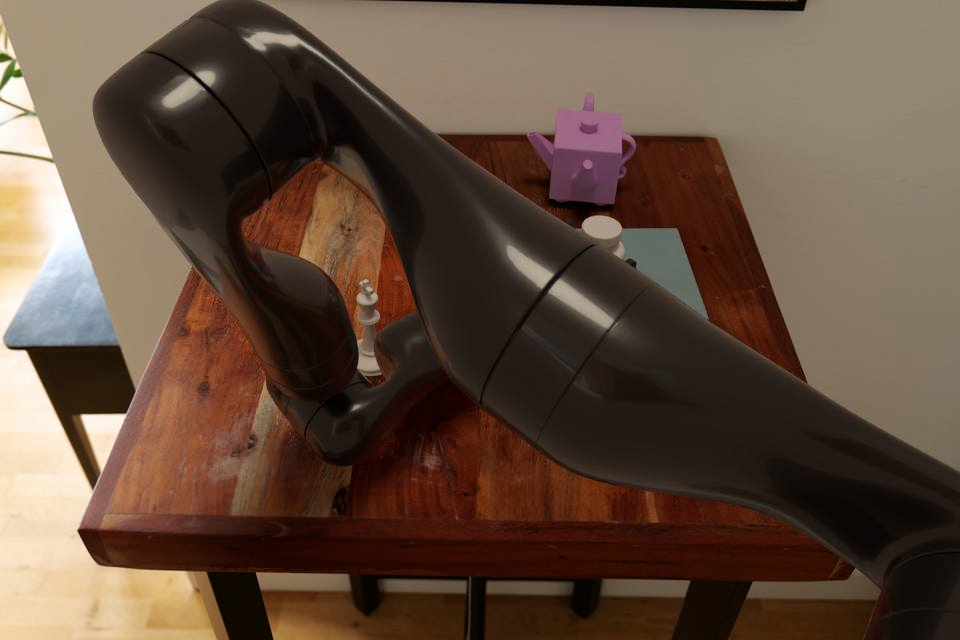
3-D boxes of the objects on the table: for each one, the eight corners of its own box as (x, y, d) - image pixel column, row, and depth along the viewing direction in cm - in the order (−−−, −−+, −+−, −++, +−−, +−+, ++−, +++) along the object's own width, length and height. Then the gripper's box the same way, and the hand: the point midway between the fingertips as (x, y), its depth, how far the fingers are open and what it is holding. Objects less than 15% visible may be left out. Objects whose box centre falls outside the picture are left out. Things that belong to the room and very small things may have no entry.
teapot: (528, 146, 115) (533, 79, 108) (626, 154, 114) (637, 87, 108) (518, 225, 102) (523, 154, 95) (629, 235, 101) (642, 164, 94)
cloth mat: (708, 321, 90) (709, 319, 90) (500, 323, 89) (500, 320, 89) (676, 230, 102) (677, 228, 102) (492, 231, 101) (492, 228, 101)
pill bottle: (619, 318, 89) (632, 244, 83) (567, 318, 89) (577, 243, 83) (612, 285, 94) (625, 211, 87) (563, 284, 93) (572, 210, 87)
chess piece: (378, 334, 87) (372, 257, 81) (407, 361, 85) (403, 283, 78) (337, 355, 85) (328, 278, 78) (365, 384, 82) (358, 306, 75)
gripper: (539, 326, 72) (662, 250, 80) (431, 247, 79) (553, 184, 88) (533, 388, 77) (649, 309, 85) (432, 307, 84) (547, 243, 93)
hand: (600, 246), depth 86 cm, fingers open, 8 cm apart
